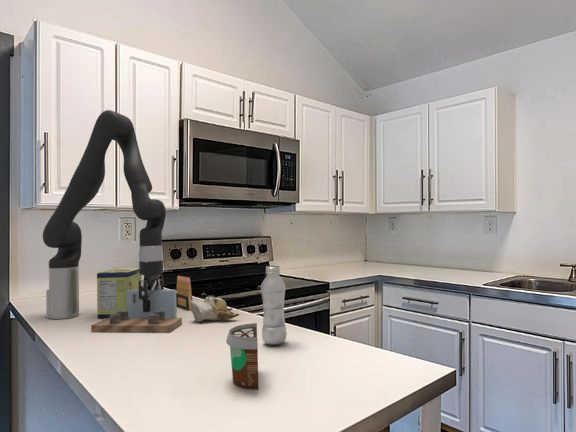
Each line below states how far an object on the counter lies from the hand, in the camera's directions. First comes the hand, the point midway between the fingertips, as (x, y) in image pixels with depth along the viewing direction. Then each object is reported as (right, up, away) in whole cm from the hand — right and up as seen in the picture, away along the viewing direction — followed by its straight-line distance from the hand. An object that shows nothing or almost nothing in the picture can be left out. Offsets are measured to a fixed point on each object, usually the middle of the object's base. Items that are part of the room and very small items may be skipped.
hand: (152, 309), depth 137 cm
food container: (+36, -2, -54) cm, 65 cm away
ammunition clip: (+6, -4, +18) cm, 20 cm away
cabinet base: (-1, -3, -10) cm, 11 cm away
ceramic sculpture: (+21, -4, -1) cm, 21 cm away
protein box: (-15, -4, +12) cm, 19 cm away
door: (0, -4, 0) cm, 4 cm away
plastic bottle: (+41, -3, -29) cm, 51 cm away
